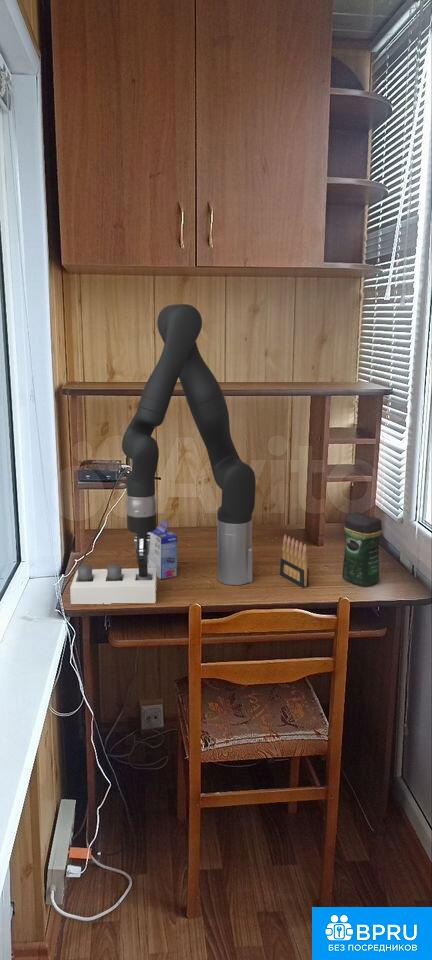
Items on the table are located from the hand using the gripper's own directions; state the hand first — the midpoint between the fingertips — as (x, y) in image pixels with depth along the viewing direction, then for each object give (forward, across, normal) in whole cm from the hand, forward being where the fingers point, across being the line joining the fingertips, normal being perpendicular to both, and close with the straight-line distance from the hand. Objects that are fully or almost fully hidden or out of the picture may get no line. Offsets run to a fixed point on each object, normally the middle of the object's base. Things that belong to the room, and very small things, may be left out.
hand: (143, 575), depth 181 cm
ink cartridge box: (+6, +15, -4) cm, 17 cm away
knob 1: (+1, 0, +15) cm, 15 cm away
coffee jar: (+5, +6, -58) cm, 59 cm away
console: (+5, 0, +7) cm, 9 cm away
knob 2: (+4, 0, 0) cm, 4 cm away
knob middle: (+1, 0, +7) cm, 7 cm away
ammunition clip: (+5, +7, -40) cm, 41 cm away
